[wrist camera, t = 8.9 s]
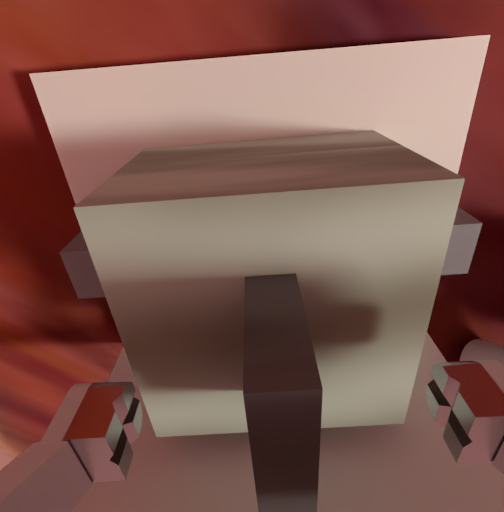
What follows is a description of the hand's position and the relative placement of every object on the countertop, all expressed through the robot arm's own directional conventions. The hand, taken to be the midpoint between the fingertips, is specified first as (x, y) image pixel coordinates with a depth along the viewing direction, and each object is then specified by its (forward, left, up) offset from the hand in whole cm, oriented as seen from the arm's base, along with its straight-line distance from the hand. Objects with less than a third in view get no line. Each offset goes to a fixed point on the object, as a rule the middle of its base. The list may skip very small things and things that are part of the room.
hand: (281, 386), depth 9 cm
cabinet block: (0, 0, -9) cm, 9 cm away
